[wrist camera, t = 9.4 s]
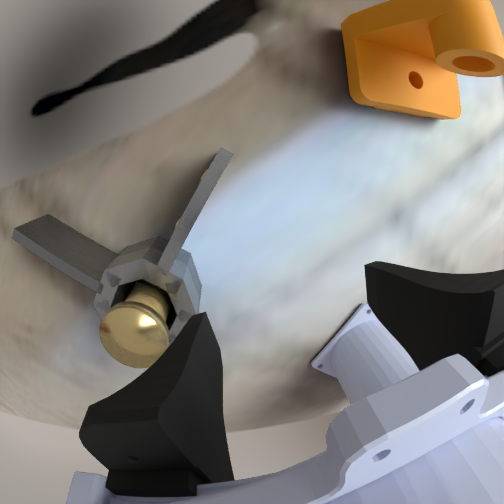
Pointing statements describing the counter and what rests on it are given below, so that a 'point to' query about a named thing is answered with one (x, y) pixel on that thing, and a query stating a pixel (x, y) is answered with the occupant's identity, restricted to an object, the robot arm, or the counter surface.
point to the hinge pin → (138, 326)
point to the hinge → (129, 257)
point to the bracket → (420, 53)
